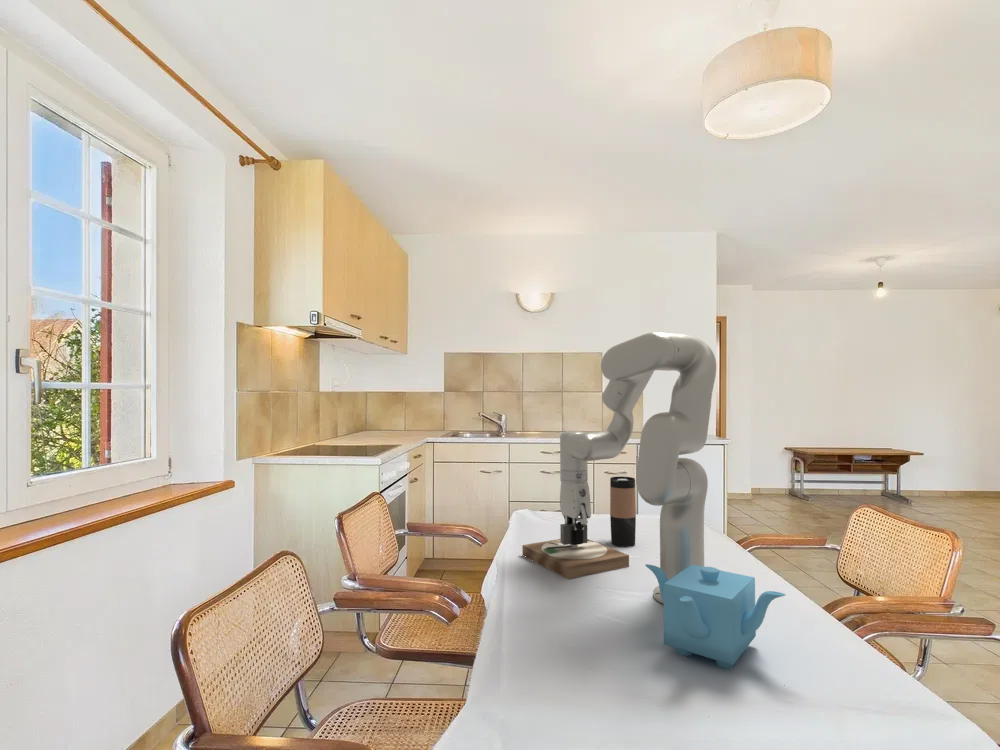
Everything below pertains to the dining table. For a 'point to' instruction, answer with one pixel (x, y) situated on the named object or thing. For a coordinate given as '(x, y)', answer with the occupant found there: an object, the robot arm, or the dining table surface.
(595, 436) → the robot arm
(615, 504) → the travel mug
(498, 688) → the dining table surface
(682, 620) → the teakettle
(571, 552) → the brown wooden flat block
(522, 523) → the dining table surface
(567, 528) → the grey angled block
